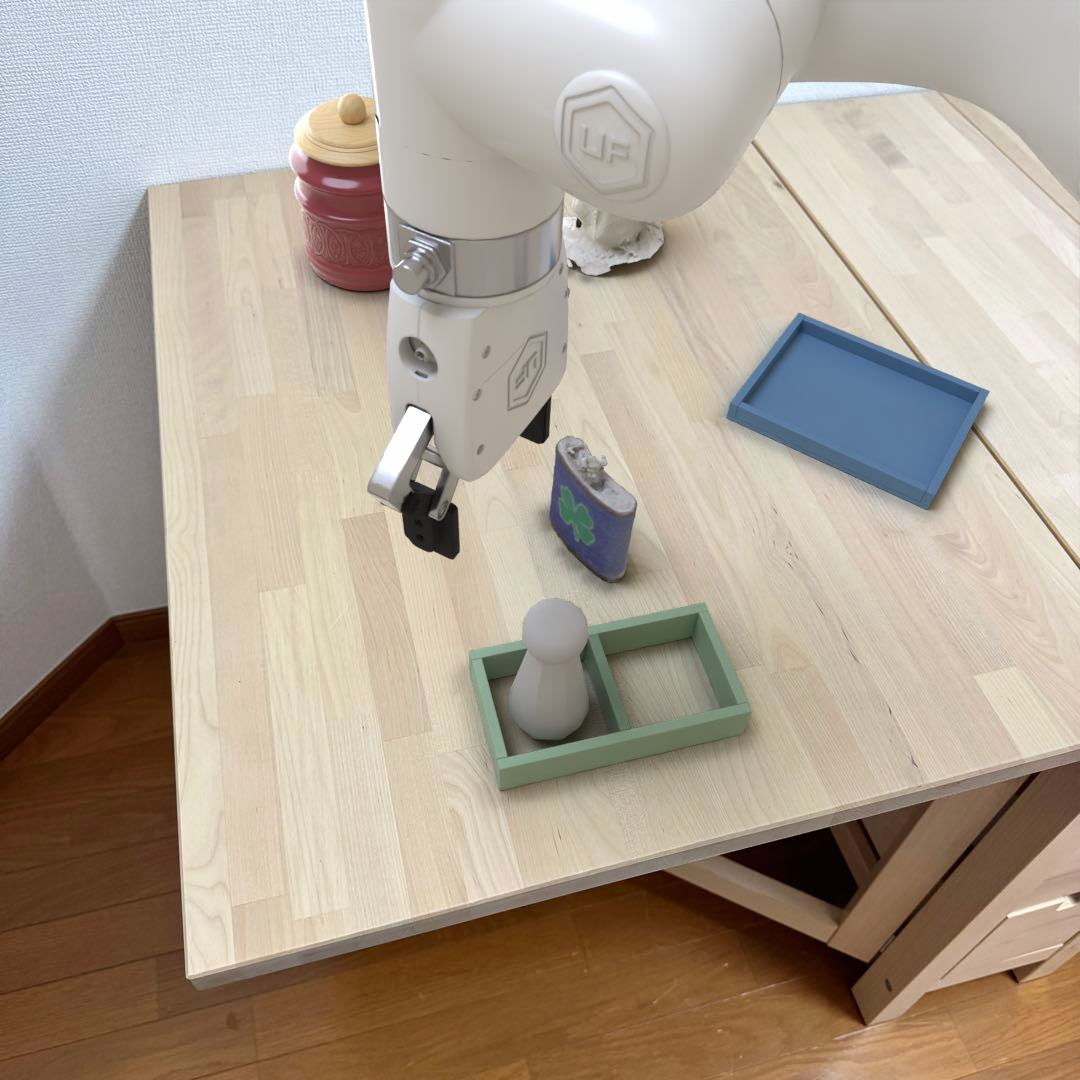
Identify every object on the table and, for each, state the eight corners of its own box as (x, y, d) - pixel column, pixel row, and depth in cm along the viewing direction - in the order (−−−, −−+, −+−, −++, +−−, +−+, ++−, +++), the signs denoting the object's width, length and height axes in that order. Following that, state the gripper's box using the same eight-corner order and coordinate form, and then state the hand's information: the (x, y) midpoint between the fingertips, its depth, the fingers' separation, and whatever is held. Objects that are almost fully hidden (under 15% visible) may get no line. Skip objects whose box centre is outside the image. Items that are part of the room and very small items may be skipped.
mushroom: (686, 249, 109) (717, 85, 94) (596, 292, 104) (614, 126, 89) (615, 196, 114) (634, 34, 100) (526, 235, 109) (533, 70, 95)
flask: (631, 574, 82) (647, 489, 73) (602, 590, 81) (615, 505, 72) (567, 501, 86) (574, 413, 78) (538, 515, 85) (543, 427, 77)
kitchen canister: (432, 219, 110) (423, 61, 96) (427, 295, 102) (417, 135, 88) (313, 218, 110) (287, 58, 96) (299, 293, 102) (269, 132, 88)
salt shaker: (586, 754, 72) (602, 661, 62) (507, 751, 72) (509, 658, 61) (585, 682, 75) (600, 583, 65) (509, 680, 75) (512, 580, 65)
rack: (697, 626, 79) (704, 601, 76) (742, 734, 73) (752, 711, 71) (469, 674, 76) (468, 650, 73) (499, 791, 70) (499, 769, 67)
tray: (981, 406, 95) (990, 390, 94) (927, 510, 87) (934, 495, 86) (793, 327, 101) (798, 312, 100) (725, 417, 93) (730, 402, 92)
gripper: (438, 376, 37) (454, 627, 50) (641, 156, 46) (608, 417, 60) (276, 307, 39) (333, 566, 52) (502, 110, 48) (500, 372, 62)
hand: (479, 486), depth 56 cm, fingers open, 9 cm apart
